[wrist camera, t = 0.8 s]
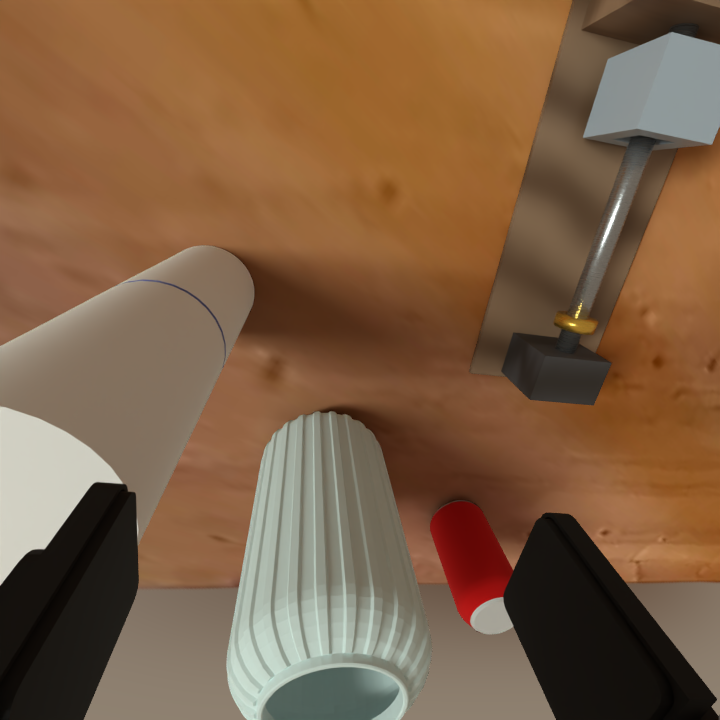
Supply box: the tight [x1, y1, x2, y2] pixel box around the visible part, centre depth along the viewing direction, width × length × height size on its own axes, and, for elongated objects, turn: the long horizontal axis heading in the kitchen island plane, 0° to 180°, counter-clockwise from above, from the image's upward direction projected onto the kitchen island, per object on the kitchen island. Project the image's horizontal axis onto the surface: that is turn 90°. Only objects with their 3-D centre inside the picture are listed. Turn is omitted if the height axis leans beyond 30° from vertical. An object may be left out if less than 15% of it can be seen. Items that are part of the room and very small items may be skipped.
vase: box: [226, 411, 432, 720], centre depth 31 cm, size 12×12×22 cm
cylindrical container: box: [0, 245, 254, 585], centre depth 22 cm, size 7×7×25 cm
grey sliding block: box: [583, 32, 720, 150], centre depth 28 cm, size 5×6×6 cm
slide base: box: [469, 0, 720, 405], centre depth 31 cm, size 32×12×7 cm, turn 171°
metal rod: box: [553, 23, 699, 354], centre depth 31 cm, size 26×3×3 cm, turn 171°
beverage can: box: [430, 500, 513, 634], centre depth 41 cm, size 6×6×12 cm
